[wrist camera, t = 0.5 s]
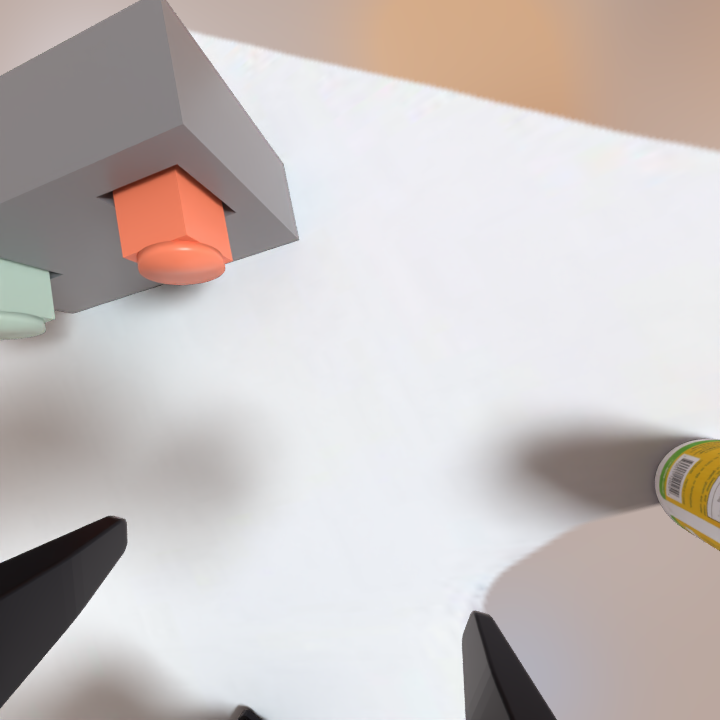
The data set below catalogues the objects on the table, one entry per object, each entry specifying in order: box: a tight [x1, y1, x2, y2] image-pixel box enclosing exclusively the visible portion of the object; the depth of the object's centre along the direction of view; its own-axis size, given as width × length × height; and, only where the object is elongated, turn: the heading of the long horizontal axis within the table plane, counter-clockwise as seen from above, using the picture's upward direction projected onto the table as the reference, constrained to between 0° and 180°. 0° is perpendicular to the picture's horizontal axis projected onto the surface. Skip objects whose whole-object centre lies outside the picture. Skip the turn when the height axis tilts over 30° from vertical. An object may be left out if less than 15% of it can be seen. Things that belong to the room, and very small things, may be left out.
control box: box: [0, 0, 299, 313], centre depth 21 cm, size 6×21×12 cm, turn 103°
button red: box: [113, 164, 233, 285], centre depth 18 cm, size 5×4×4 cm
